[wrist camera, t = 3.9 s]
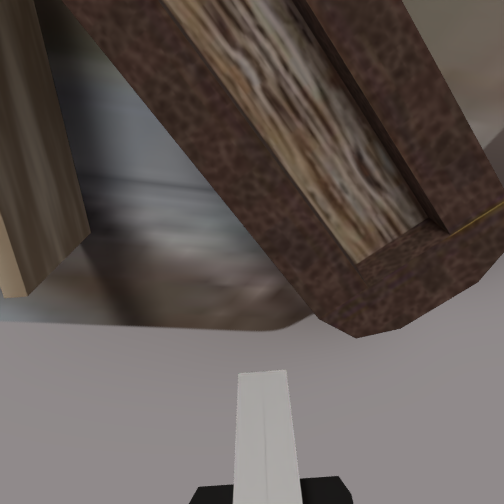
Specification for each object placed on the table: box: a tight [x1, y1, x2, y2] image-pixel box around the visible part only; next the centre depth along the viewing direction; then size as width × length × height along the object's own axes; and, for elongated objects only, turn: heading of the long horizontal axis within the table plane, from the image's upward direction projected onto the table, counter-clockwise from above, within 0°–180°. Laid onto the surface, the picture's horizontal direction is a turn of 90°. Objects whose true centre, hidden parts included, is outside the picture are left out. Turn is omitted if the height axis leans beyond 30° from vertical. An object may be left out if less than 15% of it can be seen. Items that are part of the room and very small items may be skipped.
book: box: [62, 0, 504, 338], centre depth 21 cm, size 22×8×25 cm, turn 37°
